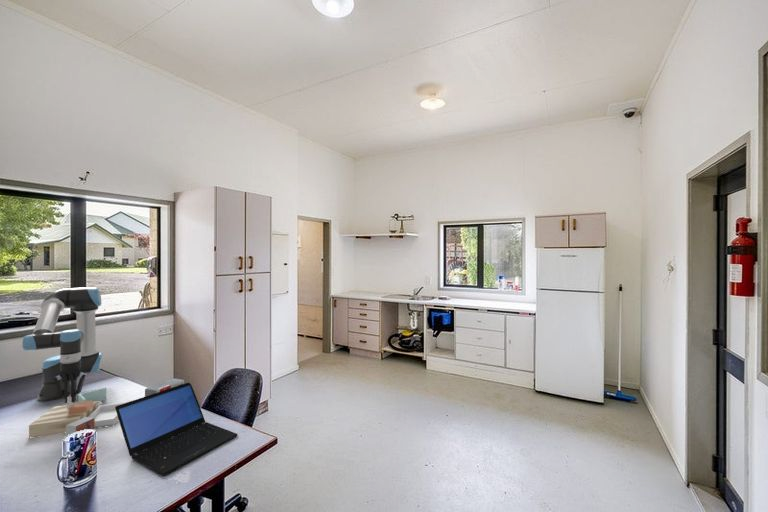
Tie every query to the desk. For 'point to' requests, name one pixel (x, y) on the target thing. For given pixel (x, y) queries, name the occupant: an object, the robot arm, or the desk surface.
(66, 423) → the plate
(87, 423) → the small box
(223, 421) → the desk surface
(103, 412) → the box
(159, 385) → the hard drive box
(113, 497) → the desk surface
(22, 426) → the desk surface
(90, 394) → the l-shaped corner panel
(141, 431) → the laptop
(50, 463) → the desk surface
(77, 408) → the tile
